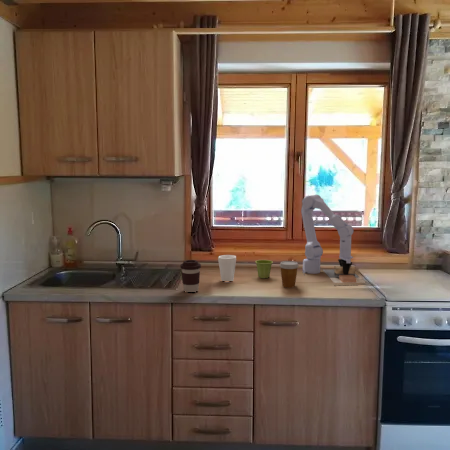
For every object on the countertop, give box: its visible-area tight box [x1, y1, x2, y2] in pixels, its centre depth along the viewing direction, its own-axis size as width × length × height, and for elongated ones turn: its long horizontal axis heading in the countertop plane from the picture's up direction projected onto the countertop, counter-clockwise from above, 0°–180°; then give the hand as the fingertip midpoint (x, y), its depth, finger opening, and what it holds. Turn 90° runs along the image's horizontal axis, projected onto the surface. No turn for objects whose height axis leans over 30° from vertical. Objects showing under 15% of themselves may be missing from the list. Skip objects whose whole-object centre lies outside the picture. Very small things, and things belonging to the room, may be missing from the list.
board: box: [322, 269, 366, 287], centre depth 252 cm, size 16×28×2 cm, turn 0°
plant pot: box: [255, 259, 274, 279], centre depth 255 cm, size 9×9×9 cm
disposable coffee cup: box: [279, 260, 299, 289], centre depth 237 cm, size 10×10×12 cm
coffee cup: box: [179, 259, 202, 293], centre depth 229 cm, size 10×10×15 cm
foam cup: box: [217, 254, 237, 282], centre depth 248 cm, size 10×9×13 cm
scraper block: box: [333, 265, 356, 276], centre depth 248 cm, size 10×4×4 cm, turn 90°
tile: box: [339, 275, 356, 282], centre depth 242 cm, size 7×7×2 cm
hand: (344, 273), depth 248 cm, fingers closed on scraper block, 4 cm apart
